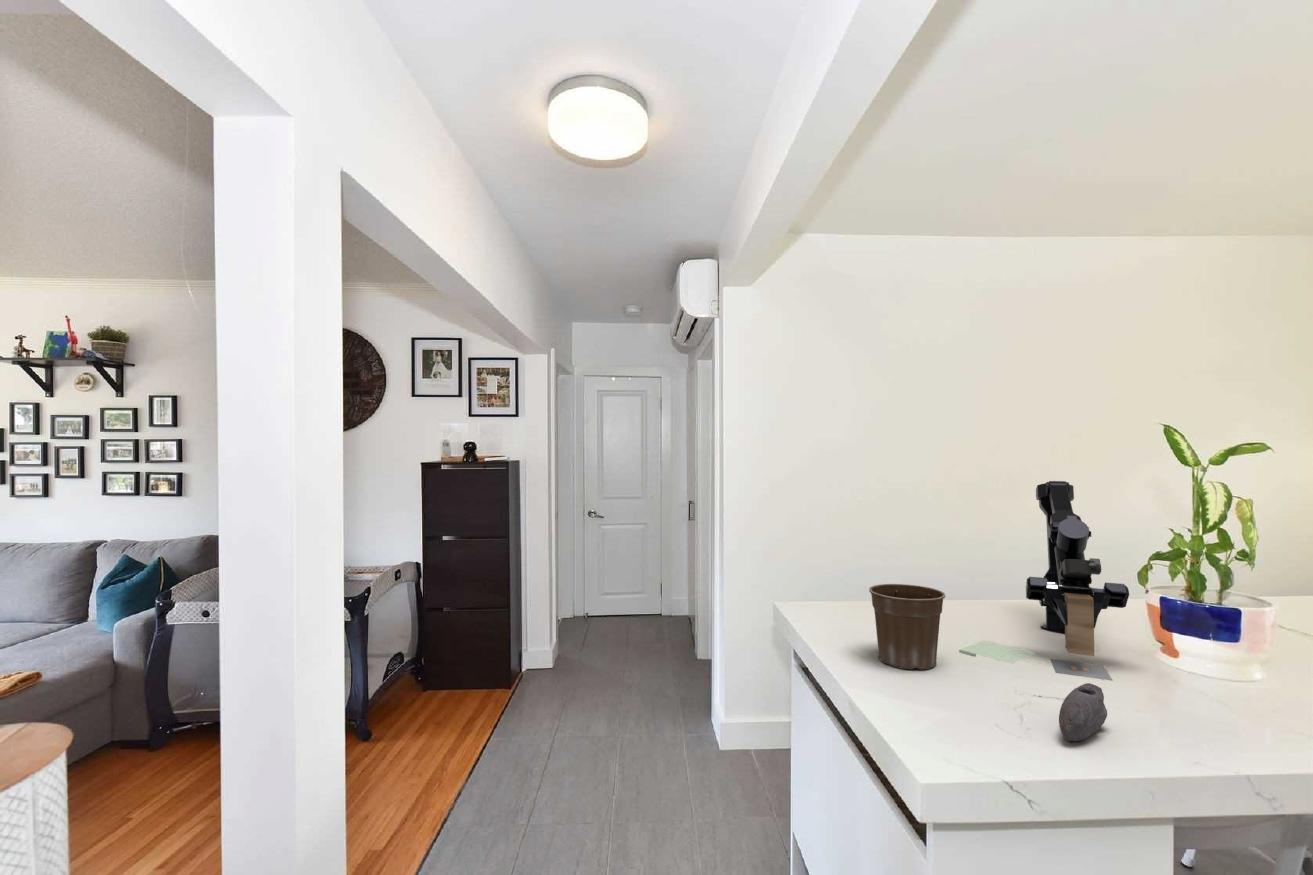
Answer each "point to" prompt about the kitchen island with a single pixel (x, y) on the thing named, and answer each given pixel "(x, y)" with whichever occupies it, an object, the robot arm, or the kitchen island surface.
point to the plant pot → (907, 624)
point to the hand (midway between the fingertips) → (1080, 625)
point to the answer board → (997, 651)
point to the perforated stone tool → (1082, 712)
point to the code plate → (1080, 669)
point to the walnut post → (1079, 624)
